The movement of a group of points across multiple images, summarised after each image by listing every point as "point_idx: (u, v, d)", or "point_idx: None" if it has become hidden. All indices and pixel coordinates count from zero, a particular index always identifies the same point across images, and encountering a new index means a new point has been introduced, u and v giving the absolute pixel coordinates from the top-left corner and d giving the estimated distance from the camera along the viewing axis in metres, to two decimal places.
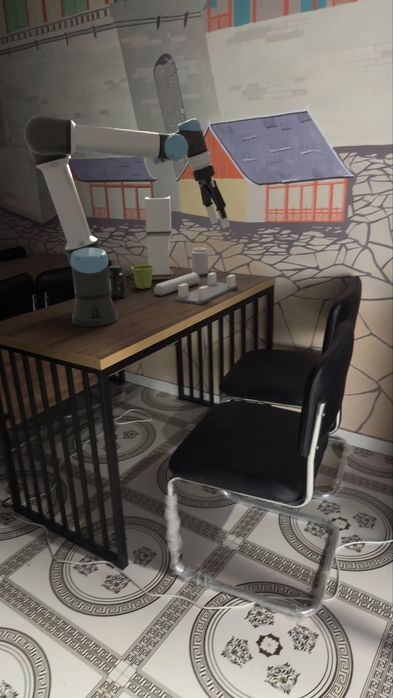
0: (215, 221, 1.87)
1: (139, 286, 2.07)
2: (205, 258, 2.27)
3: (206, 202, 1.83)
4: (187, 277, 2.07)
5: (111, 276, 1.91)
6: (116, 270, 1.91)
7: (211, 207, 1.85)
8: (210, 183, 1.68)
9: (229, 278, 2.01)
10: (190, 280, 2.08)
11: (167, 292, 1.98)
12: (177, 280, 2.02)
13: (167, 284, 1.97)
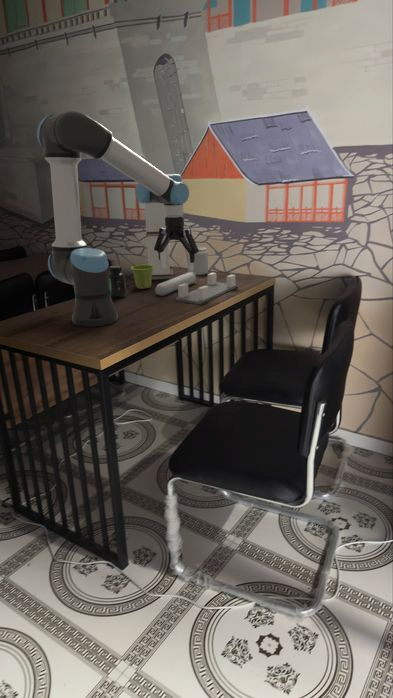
0: (164, 266, 2.06)
1: (139, 286, 2.07)
2: (205, 258, 2.27)
3: (162, 248, 2.02)
4: (185, 277, 2.08)
5: (111, 276, 1.91)
6: (116, 270, 1.91)
7: (164, 253, 2.04)
8: (188, 230, 1.93)
9: (229, 278, 2.01)
10: (188, 280, 2.09)
11: (168, 292, 1.98)
12: (177, 280, 2.03)
13: (168, 284, 1.98)
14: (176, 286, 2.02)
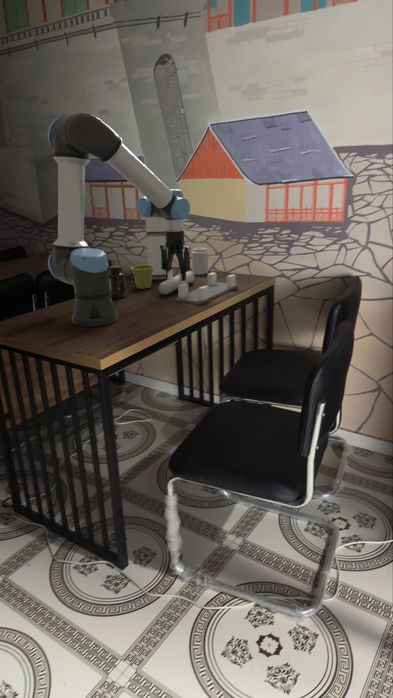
0: None
1: (139, 286, 2.07)
2: (205, 258, 2.27)
3: (168, 265, 2.02)
4: None
5: (111, 276, 1.91)
6: (116, 270, 1.91)
7: (171, 272, 2.04)
8: (187, 249, 1.95)
9: (229, 278, 2.01)
10: (187, 278, 2.08)
11: (171, 290, 1.97)
12: (178, 279, 2.02)
13: (171, 282, 1.97)
14: (178, 284, 2.01)
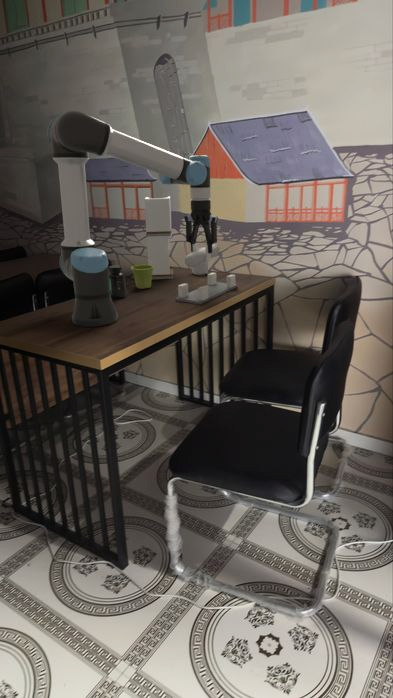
0: None
1: (139, 286, 2.07)
2: None
3: (194, 237, 1.92)
4: None
5: (111, 276, 1.91)
6: (116, 270, 1.91)
7: (196, 245, 1.94)
8: (215, 219, 1.85)
9: (229, 278, 2.01)
10: (213, 252, 1.98)
11: (197, 263, 1.87)
12: (204, 251, 1.92)
13: (197, 255, 1.86)
14: (204, 257, 1.91)
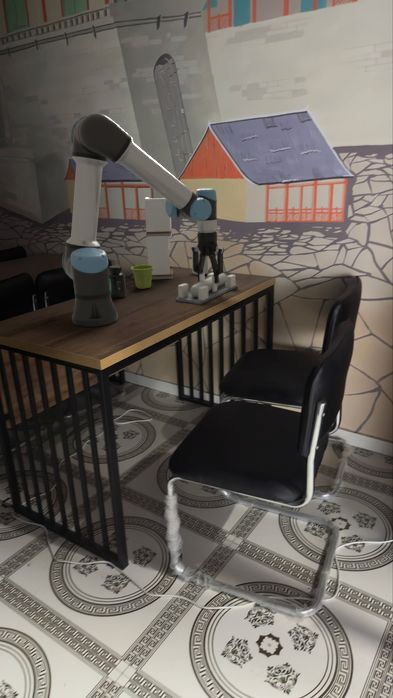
0: None
1: (139, 286, 2.07)
2: (205, 258, 2.27)
3: (201, 267, 1.95)
4: None
5: (111, 276, 1.91)
6: (116, 270, 1.91)
7: (203, 275, 1.97)
8: (221, 251, 1.87)
9: (229, 278, 2.01)
10: (220, 281, 2.01)
11: None
12: (210, 281, 1.95)
13: (203, 285, 1.89)
14: (210, 287, 1.93)
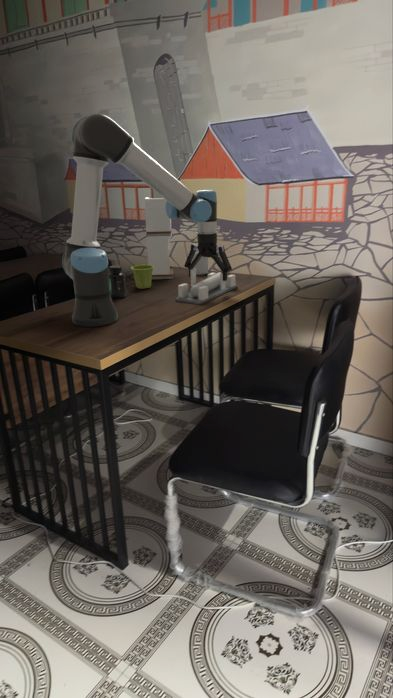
0: (194, 283, 2.00)
1: (139, 286, 2.07)
2: (205, 258, 2.27)
3: (193, 265, 1.96)
4: (217, 277, 2.00)
5: (111, 276, 1.91)
6: (116, 270, 1.91)
7: (194, 270, 1.98)
8: (221, 248, 1.87)
9: (229, 278, 2.01)
10: None
11: None
12: (210, 281, 1.95)
13: (203, 285, 1.89)
14: (210, 287, 1.93)
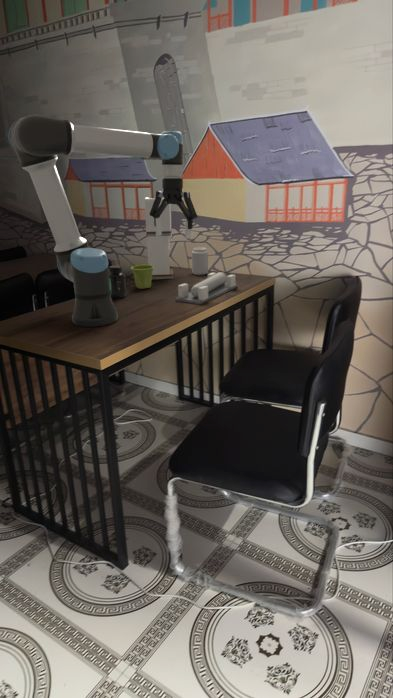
0: (160, 234, 1.91)
1: (139, 286, 2.07)
2: (205, 258, 2.27)
3: (158, 213, 1.87)
4: (217, 277, 2.00)
5: (111, 276, 1.91)
6: (116, 270, 1.91)
7: (160, 219, 1.89)
8: (186, 193, 1.78)
9: (229, 278, 2.01)
10: (220, 280, 2.01)
11: None
12: (211, 281, 1.95)
13: (203, 285, 1.89)
14: (211, 287, 1.93)
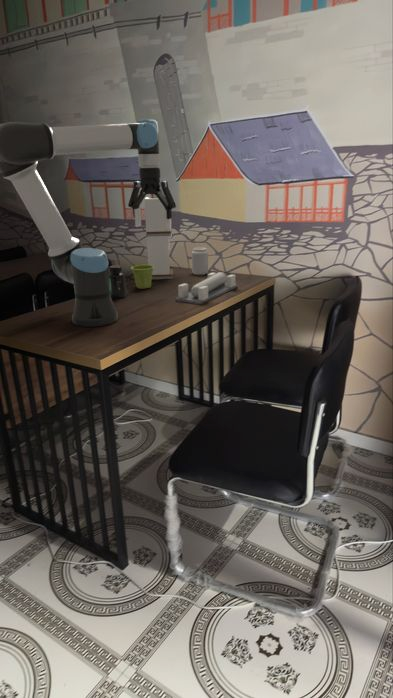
0: (139, 225, 1.89)
1: (139, 286, 2.07)
2: (205, 258, 2.27)
3: (137, 203, 1.85)
4: (217, 277, 2.00)
5: (111, 276, 1.91)
6: (116, 270, 1.91)
7: (139, 210, 1.87)
8: (164, 182, 1.76)
9: (229, 278, 2.01)
10: (220, 281, 2.01)
11: None
12: (211, 281, 1.95)
13: (204, 285, 1.89)
14: (211, 287, 1.93)
